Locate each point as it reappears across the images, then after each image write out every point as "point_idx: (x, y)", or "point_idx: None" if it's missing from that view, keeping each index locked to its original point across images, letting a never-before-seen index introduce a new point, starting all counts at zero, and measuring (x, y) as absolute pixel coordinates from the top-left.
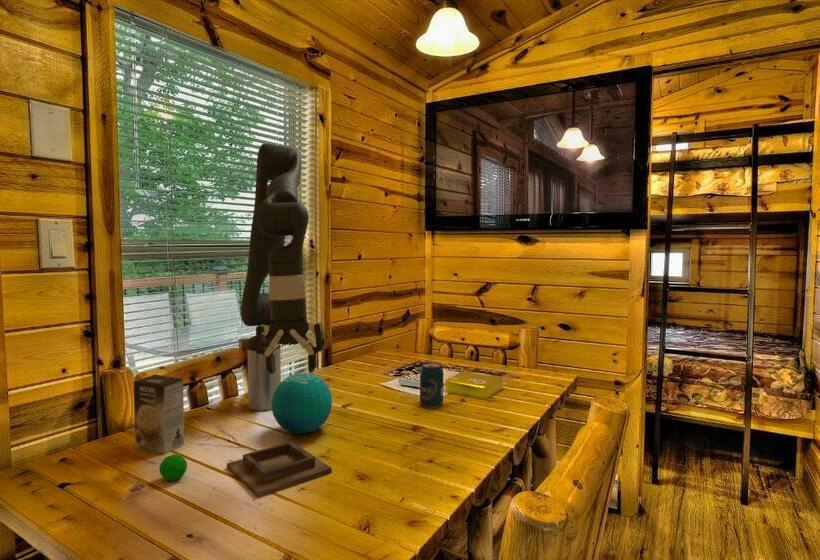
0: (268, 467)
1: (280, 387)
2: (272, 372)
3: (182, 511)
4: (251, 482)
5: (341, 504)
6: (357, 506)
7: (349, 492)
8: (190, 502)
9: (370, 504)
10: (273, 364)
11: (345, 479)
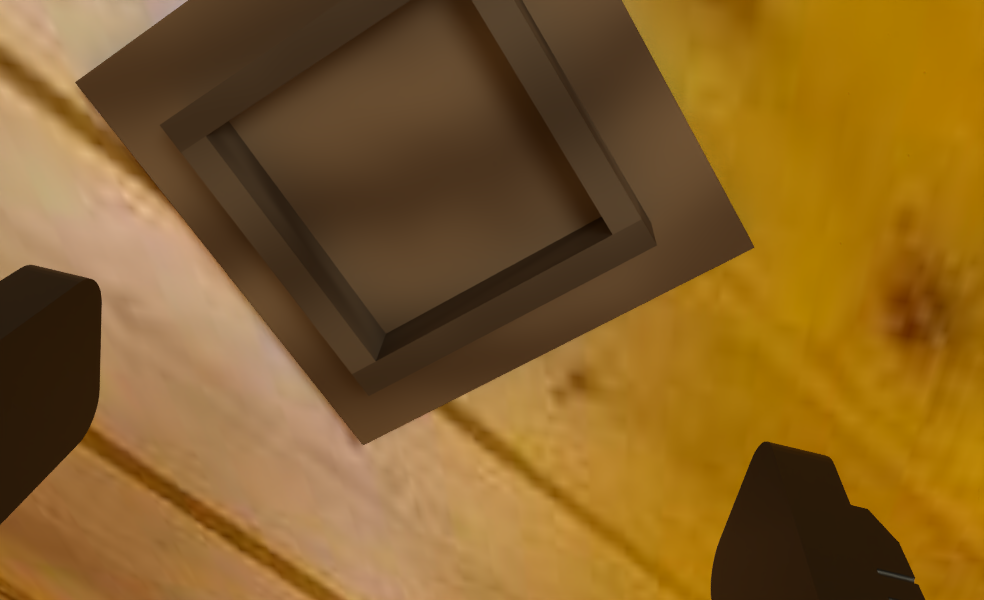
0: (359, 182)
1: None
2: (84, 425)
3: (74, 479)
4: (306, 346)
5: None
6: None
7: (813, 452)
8: None
9: None
10: (8, 433)
11: (816, 326)
